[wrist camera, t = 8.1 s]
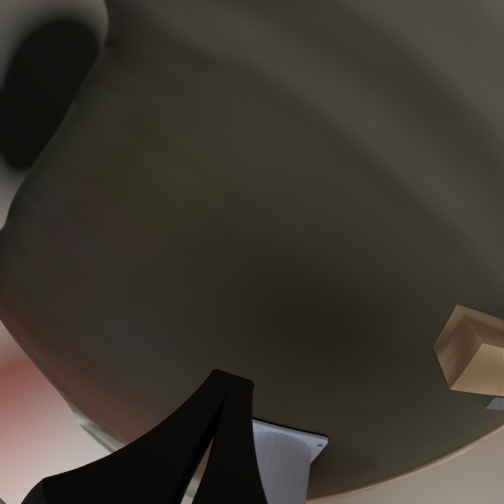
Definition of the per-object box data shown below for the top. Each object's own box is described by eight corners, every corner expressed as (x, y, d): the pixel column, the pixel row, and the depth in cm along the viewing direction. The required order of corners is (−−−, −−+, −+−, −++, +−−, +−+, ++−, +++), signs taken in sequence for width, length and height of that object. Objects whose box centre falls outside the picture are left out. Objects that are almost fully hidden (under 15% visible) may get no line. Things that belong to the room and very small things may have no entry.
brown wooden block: (514, 364, 17) (535, 398, 13) (432, 345, 18) (450, 389, 14) (536, 330, 16) (561, 362, 12) (456, 303, 17) (482, 342, 12)
